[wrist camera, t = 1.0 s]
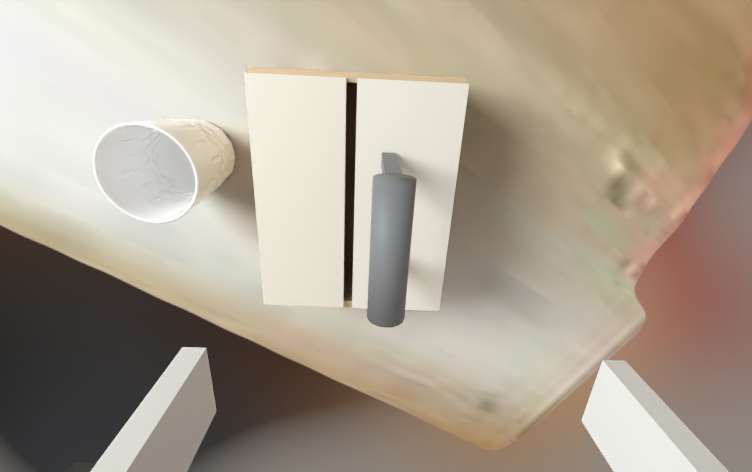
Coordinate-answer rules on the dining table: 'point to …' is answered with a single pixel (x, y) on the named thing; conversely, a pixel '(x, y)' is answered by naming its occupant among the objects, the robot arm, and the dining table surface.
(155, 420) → the robot arm
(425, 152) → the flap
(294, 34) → the dining table surface
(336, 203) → the cabinet
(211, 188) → the white cup
